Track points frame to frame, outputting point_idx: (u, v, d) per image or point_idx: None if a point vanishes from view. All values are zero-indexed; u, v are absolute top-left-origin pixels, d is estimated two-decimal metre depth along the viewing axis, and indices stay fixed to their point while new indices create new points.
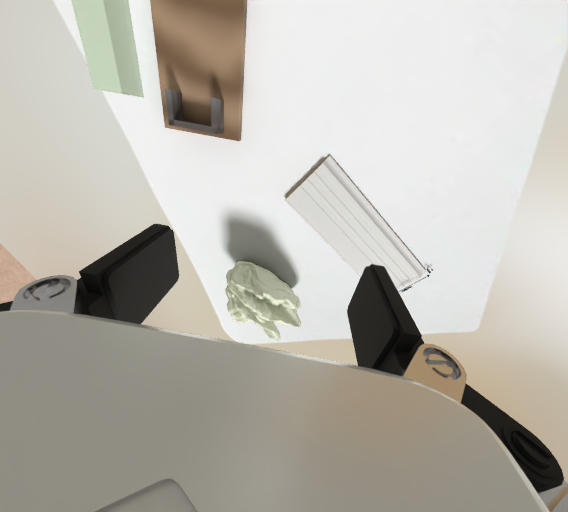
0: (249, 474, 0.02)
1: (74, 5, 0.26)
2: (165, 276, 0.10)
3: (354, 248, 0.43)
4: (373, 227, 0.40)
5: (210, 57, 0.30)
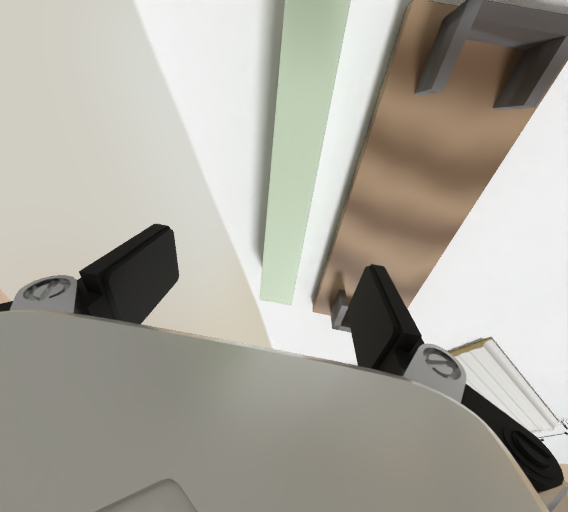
0: (249, 474, 0.02)
1: (266, 243, 0.23)
2: (165, 276, 0.10)
3: None
4: (517, 393, 0.37)
5: (393, 268, 0.26)
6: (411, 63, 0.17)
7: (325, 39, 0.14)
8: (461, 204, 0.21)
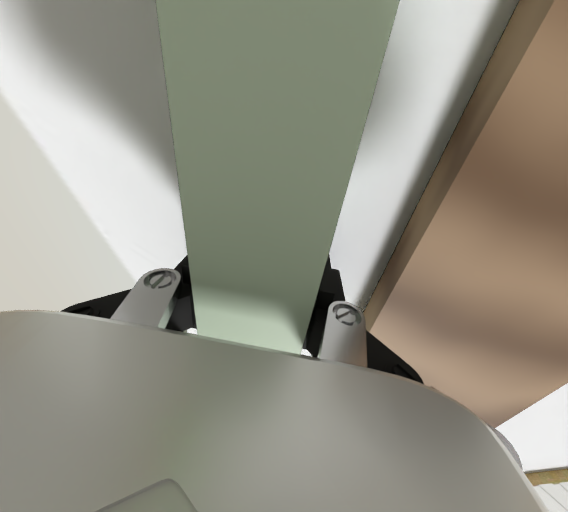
0: (249, 474, 0.02)
1: None
2: None
3: None
4: None
5: (463, 394, 0.14)
6: None
7: None
8: None
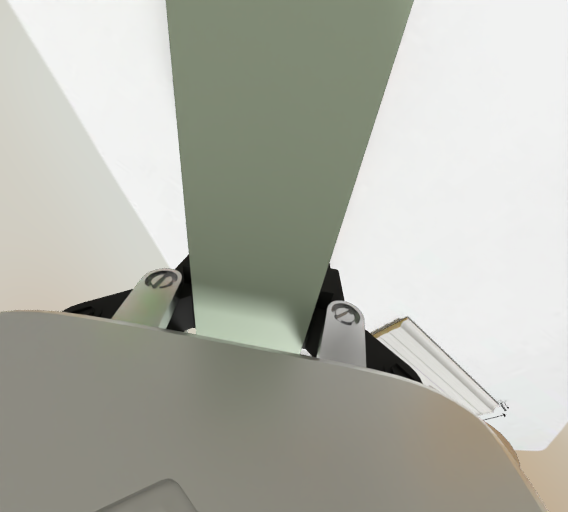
0: (249, 474, 0.02)
1: None
2: None
3: None
4: (447, 374, 0.37)
5: None
6: None
7: None
8: None
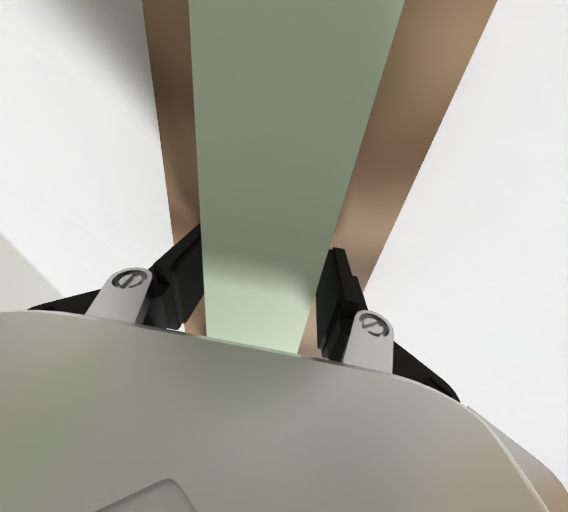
0: (249, 474, 0.02)
1: None
2: None
3: None
4: None
5: None
6: None
7: None
8: (372, 218, 0.11)
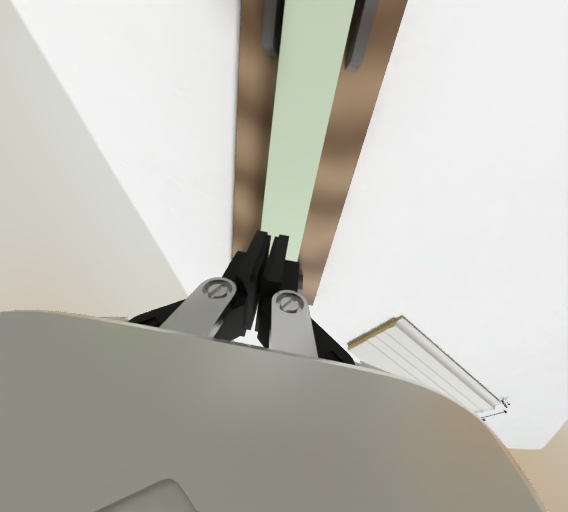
0: (249, 474, 0.02)
1: None
2: None
3: None
4: (445, 372, 0.37)
5: None
6: (257, 24, 0.17)
7: (329, 36, 0.13)
8: (341, 172, 0.22)
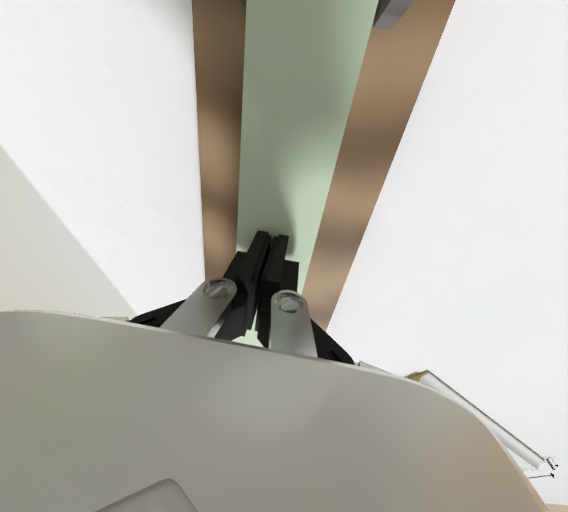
0: (249, 474, 0.02)
1: None
2: None
3: None
4: None
5: None
6: None
7: None
8: (360, 194, 0.14)
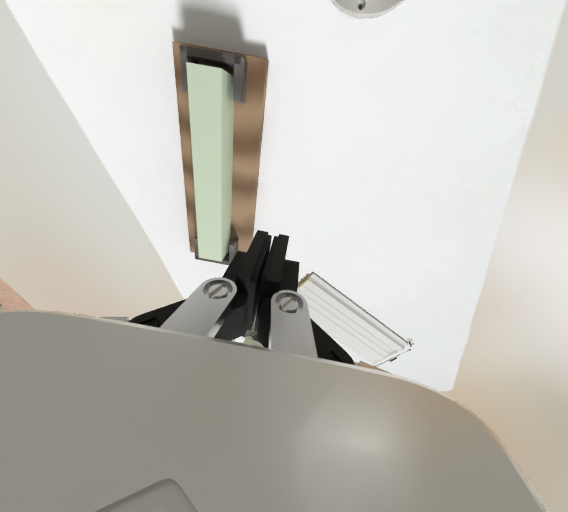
0: (249, 474, 0.02)
1: (197, 214, 0.33)
2: None
3: (344, 331, 0.51)
4: (356, 317, 0.49)
5: None
6: None
7: (212, 90, 0.25)
8: (249, 164, 0.34)
